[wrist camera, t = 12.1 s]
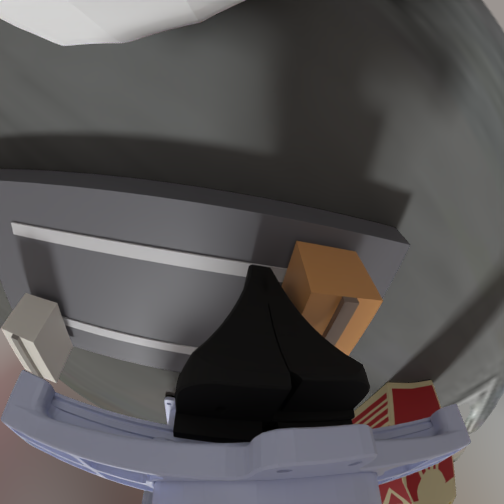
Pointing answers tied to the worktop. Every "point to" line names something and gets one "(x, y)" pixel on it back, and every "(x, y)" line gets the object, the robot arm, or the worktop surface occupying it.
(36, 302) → the block
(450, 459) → the milk carton
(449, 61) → the worktop surface
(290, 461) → the robot arm
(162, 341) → the mixing panel
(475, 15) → the worktop surface
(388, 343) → the worktop surface
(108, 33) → the cup
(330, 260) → the fader orange
